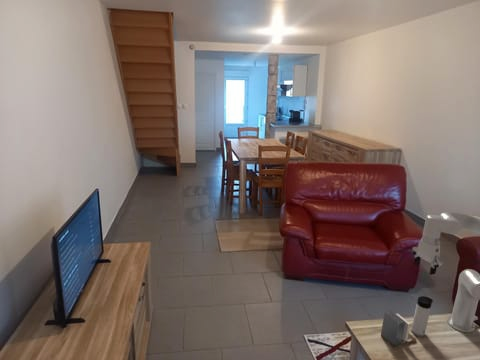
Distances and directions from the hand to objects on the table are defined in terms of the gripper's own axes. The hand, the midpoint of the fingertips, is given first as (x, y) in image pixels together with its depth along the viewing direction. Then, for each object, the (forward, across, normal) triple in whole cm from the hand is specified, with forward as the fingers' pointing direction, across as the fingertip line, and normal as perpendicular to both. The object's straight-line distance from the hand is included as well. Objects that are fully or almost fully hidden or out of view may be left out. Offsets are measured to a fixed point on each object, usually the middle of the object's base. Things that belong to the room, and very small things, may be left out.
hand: (424, 269), depth 179 cm
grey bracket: (+30, -9, +20) cm, 37 cm away
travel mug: (+31, -9, +7) cm, 32 cm away
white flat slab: (+29, -9, +19) cm, 36 cm away
